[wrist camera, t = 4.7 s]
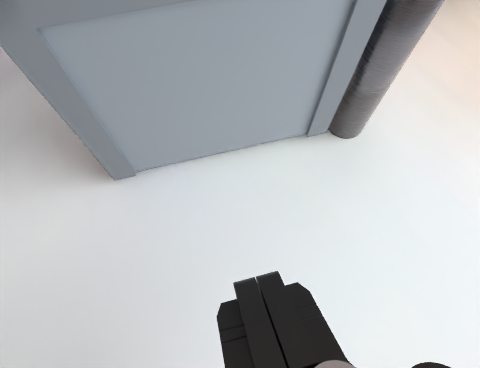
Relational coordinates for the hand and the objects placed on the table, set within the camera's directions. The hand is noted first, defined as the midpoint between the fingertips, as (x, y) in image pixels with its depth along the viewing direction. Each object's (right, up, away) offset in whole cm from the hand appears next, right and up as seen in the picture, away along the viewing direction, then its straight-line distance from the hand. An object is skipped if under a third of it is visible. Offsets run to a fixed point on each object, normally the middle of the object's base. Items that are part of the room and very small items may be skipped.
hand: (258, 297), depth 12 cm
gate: (-2, +7, +16) cm, 18 cm away
